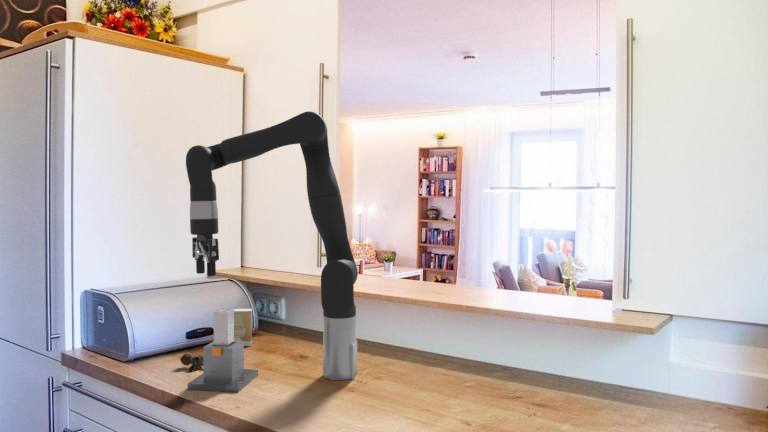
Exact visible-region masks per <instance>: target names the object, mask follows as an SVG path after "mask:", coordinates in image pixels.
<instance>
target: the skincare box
mask: <svg viewBox="0 0 768 432" xmlns="http://www.w3.org/2000/svg"><path fill="white" fill-rule="evenodd" d="M233 309H234V340H239V341H244V347H251V346H252V330H253V329H252V328H253V327H252V325H253V309H252V308H233Z"/></svg>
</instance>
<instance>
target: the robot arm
mask: <svg viewBox="0 0 768 432" xmlns="http://www.w3.org/2000/svg"><path fill="white" fill-rule="evenodd" d="M298 144H299V146H300V148H301V152H302V156H303V159H304V163H305V171H306V173H305V174H306V193H307V200H308V203H309V210H310V213H311V217H312V220H313V223H314V225H315V228H316V229H317V232H318V233H319V235H320V238H321V240H322V243H323V247H324V251H325V257H326V264H325V265H324V267H322V269H321V270H322V271H321V274H320V298H321V299H320V300H321V303H320V304H321V308H322V314H323V316H322V322H323V323H322V326H323V328H322V332H323V333H322V339H323V340H322V341H323V342H322V343H323V347H322V349H323V350H322V353H323V354H322V358H323V359H322V362H323V363H322V364H323V365H322V366H323V367H322V372H323V373H322V375H323V378H325V379H327V380H332V381H343V380H344V381H345V380H355V377H356V376H357V373H358V340H357V336H356V334H357V329H356V328H357V327H356V326H357V323H356V321H357V320H356V319H357V318H356V316H357V310H356V309H357V307H356V305H355V299H354V297H355V296H354V293H355V292H354V288H355V287H354V284H356V281H357V279H358V273H359V271H358V268H357V265H356V261H355V259H354V258H355V257H354V255H353V251H352V248H351V245H350V242H349V237H348V230H347V223H346V216H345V212H344V206H343V201H342V195H341V191H340V187H339V182H338V181H337V180H338V179H337V176H336V173H335V171H334V168H333V165H332V161H331V156H330V149H329V148H330V147H329V139H328V126H327V124H326V121H325V120H324V118H323V117H322V116H321V115H320V114H319V113H317V112H315V111H305V112H302V113H299V114H296V115H295V116H293V117H291V118H288V119H287V120H284V121H282V122H279V123H277V124H275V125H272V126H269V127H266V128H262V129H259V130H255V131H251V132H247V133H244V134H241V135H236V136H233V137H229V138H226V139H224V140H222V141H221V142H220V143H217V144H213V145H209V146H203V145H197V144H196V145H194V146H191V147H190V148H189V149H188V151H187V153H186V155H185V156H186V157H185V168H186V174H187V177H188V182H189V196H190V197H189V201H190V203H189V204H190V205H189V224H190V225H189V229H190V234H191V235H193V236H194V237H192V238H191V242H192V243H191V244H192V245H191V247H192V258H194V260H195V267H196V274H205V272H206V275H207V277H215V276H216V275H217V269H216V268H217V267H216V266H217V265H216V262H217V261H220V252H219V250H220V249H219V239H218V238H214V236H213V235H216V234H219V210H218V209H219V208H218V203H217V186H216V182H215V181H214V180H213V171H215V170H217V169H221V168H223V167H226V166H229V165H231V164H236V163H239V162H243V161H246V160H250V159H254V158H256V157H260V156H262V155H265V154H266V153H269V152H270V151H274V150H276V149H279V148H281V147H286V146H292V145H298ZM205 260H206V264H205ZM205 265H206V266H205ZM205 269H206V270H205Z"/></svg>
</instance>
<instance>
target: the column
mask: <svg viewBox="0 0 768 432" xmlns="http://www.w3.org/2000/svg"><path fill="white" fill-rule="evenodd" d="M234 309H235V308H233V309H231V308H230V309H229V308H227V309H226V308H220V309H217V310H215V311H213V341H214V346H225V347H229V346H231V345H232V344H234Z"/></svg>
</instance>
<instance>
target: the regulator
mask: <svg viewBox="0 0 768 432" xmlns="http://www.w3.org/2000/svg"><path fill="white" fill-rule="evenodd" d="M180 362H181V364H182V365H184V366H187V367H189V369H188V370H187V373H192V372H195V371H196V369H200V368H202V367H204V357H203V354H196V355H194V356H192V355H190V354H189V353H183V354H182V356H181V357H180Z"/></svg>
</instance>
